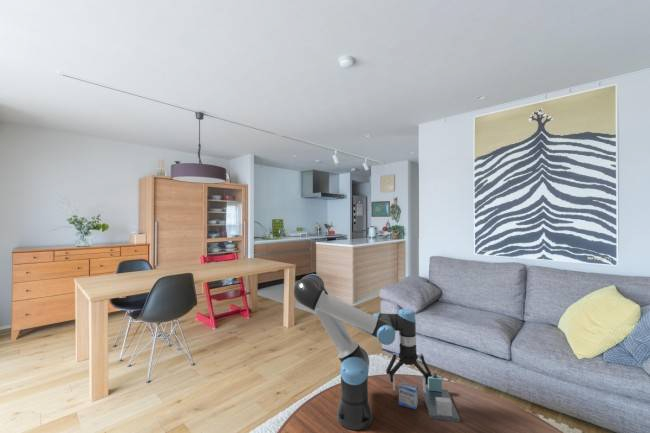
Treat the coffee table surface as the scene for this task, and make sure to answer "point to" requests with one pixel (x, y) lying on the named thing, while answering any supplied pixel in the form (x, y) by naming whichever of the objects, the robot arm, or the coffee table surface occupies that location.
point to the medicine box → (408, 395)
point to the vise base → (433, 405)
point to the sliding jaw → (435, 383)
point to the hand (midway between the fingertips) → (409, 390)
